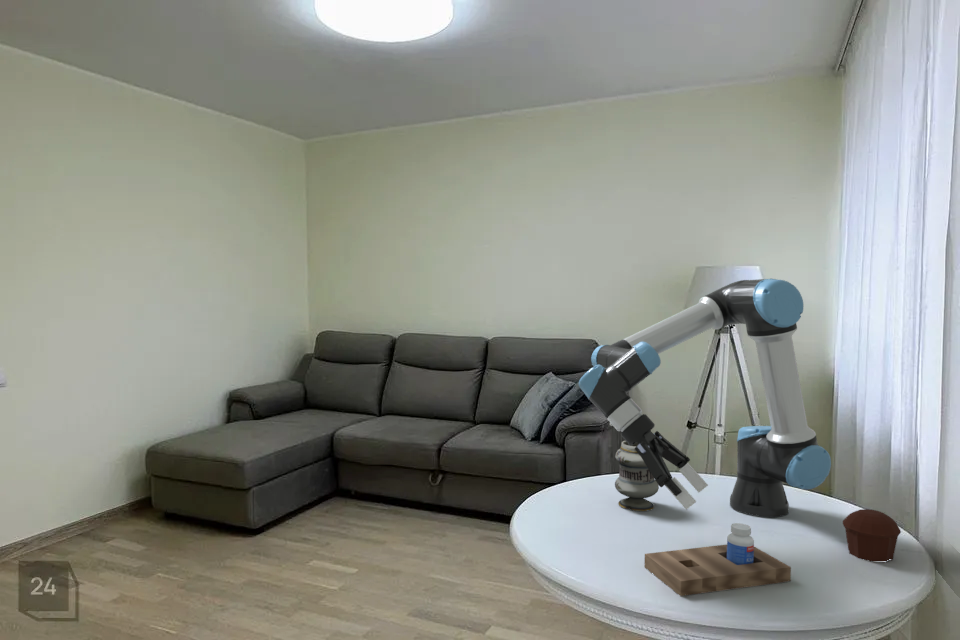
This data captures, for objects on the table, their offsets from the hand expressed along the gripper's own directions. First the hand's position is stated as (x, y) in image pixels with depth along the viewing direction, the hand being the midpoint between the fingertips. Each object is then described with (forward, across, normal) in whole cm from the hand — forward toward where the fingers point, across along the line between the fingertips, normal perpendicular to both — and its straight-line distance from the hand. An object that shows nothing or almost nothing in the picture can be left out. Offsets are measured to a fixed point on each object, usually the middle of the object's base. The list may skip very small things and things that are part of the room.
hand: (697, 497), depth 143 cm
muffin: (+35, -25, +13) cm, 45 cm away
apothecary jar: (-5, -32, -27) cm, 42 cm away
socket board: (+14, +4, -7) cm, 16 cm away
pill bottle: (+17, 0, -4) cm, 17 cm away
